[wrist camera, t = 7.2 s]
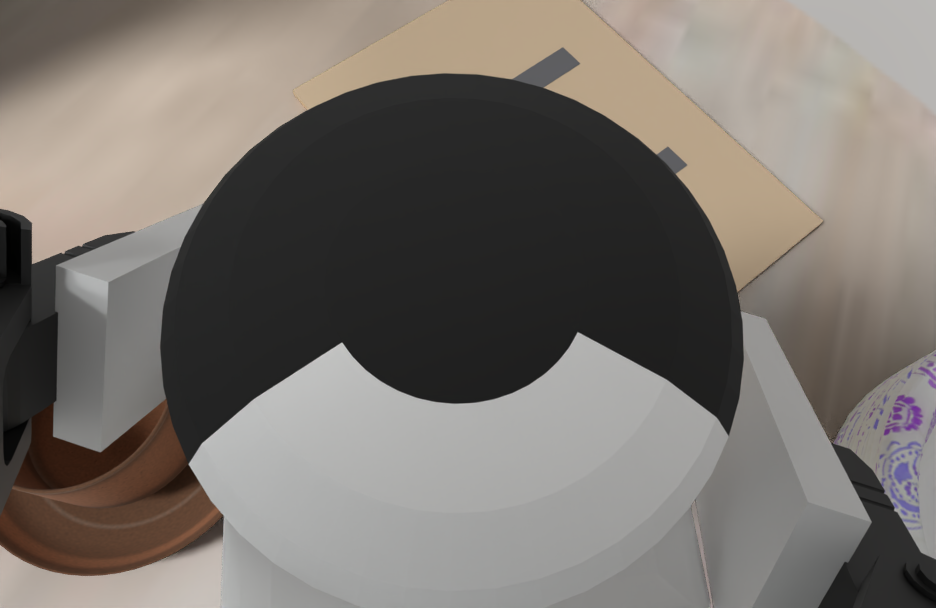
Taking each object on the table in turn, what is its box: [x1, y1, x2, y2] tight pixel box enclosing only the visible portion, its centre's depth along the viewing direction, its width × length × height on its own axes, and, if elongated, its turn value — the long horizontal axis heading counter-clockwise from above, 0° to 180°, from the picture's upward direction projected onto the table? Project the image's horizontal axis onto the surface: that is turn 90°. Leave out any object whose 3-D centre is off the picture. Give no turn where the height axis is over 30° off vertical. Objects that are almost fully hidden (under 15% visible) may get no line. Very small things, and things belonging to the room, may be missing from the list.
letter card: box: [293, 0, 823, 292], centre depth 36 cm, size 22×16×1 cm
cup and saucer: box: [0, 399, 223, 576], centre depth 28 cm, size 12×12×6 cm
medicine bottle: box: [160, 73, 744, 608], centre depth 12 cm, size 7×7×12 cm
